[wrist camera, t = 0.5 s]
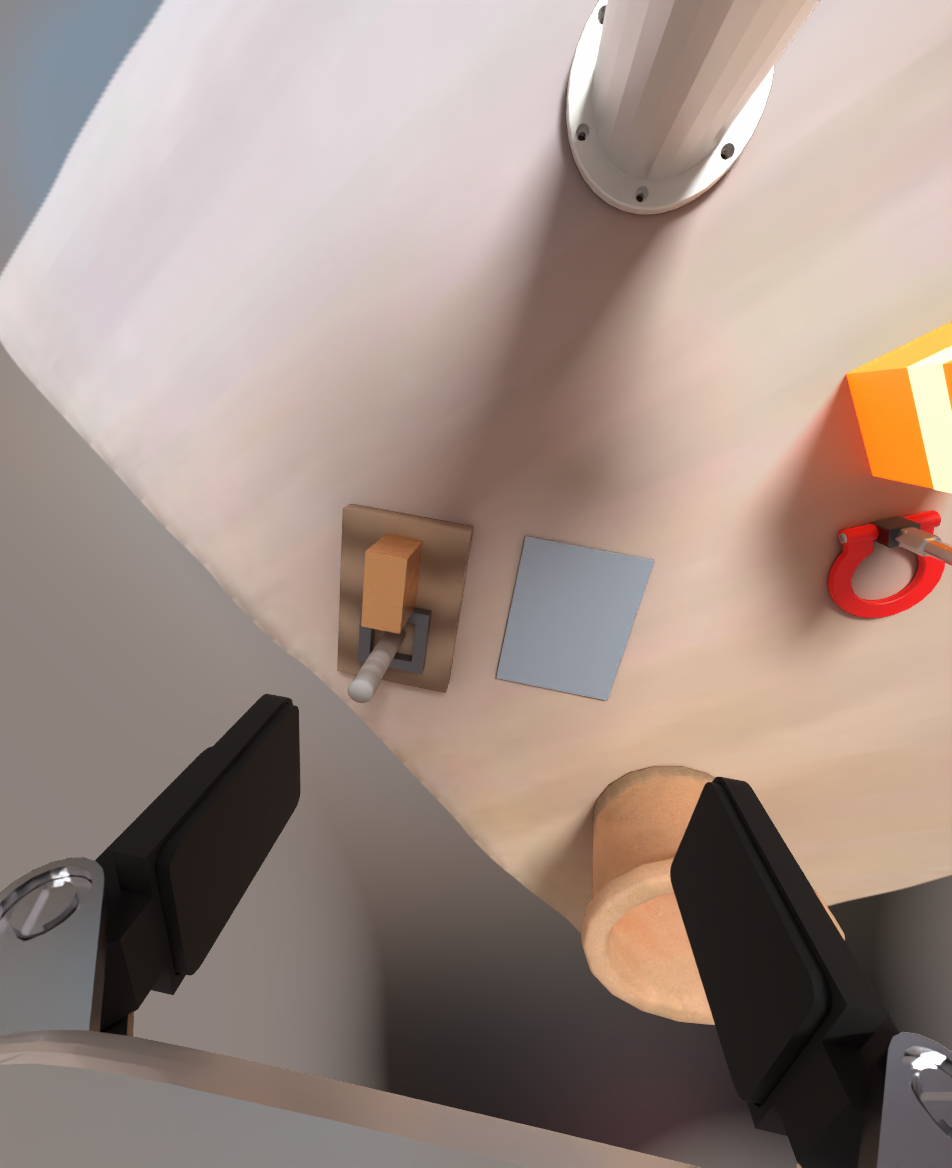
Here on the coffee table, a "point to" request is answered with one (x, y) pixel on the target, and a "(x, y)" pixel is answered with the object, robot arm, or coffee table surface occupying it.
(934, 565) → the tow hook
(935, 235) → the coffee table surface
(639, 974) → the pottery
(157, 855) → the robot arm
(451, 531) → the post stand
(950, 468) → the orange juice
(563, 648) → the mat
